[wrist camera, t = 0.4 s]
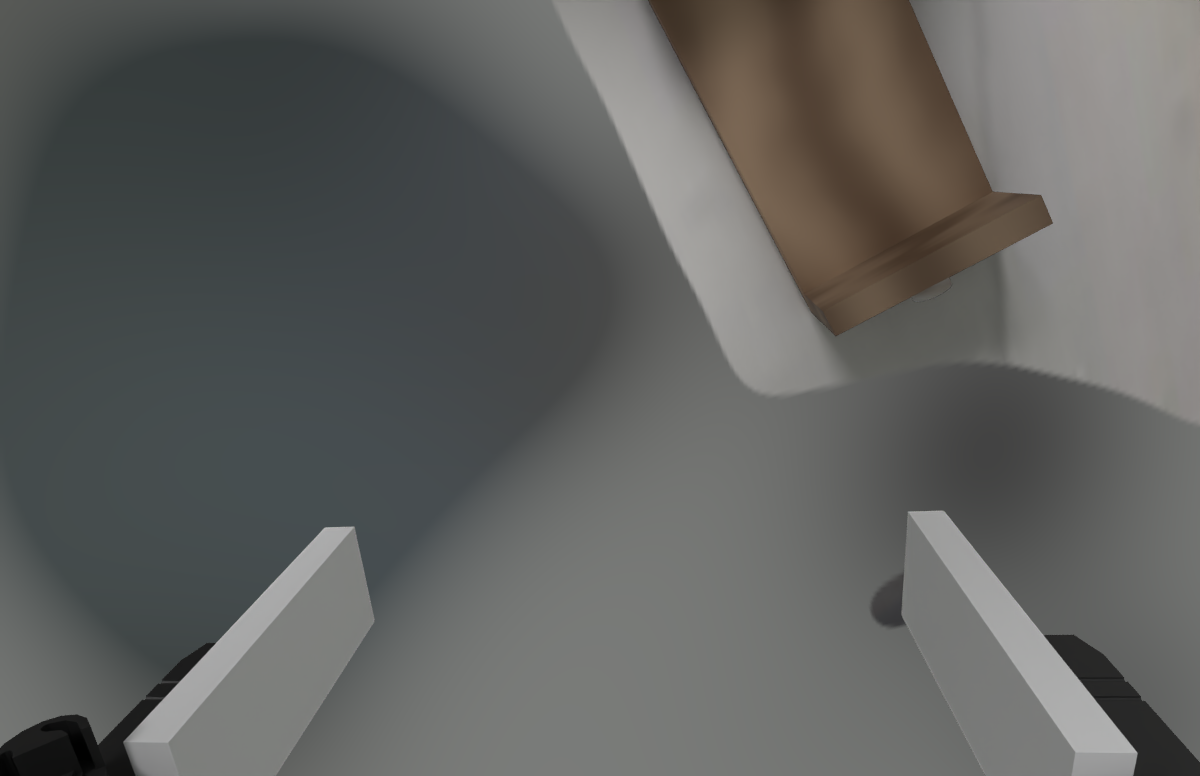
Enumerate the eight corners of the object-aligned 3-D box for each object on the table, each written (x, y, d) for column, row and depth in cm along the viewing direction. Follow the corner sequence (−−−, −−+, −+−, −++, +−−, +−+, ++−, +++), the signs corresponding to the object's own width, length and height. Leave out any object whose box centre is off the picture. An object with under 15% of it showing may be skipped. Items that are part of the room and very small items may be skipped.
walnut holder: (808, -204, 33) (839, -284, 27) (1000, 230, 38) (1060, 241, 32) (615, -63, 36) (605, -109, 30) (818, 326, 41) (844, 352, 35)
